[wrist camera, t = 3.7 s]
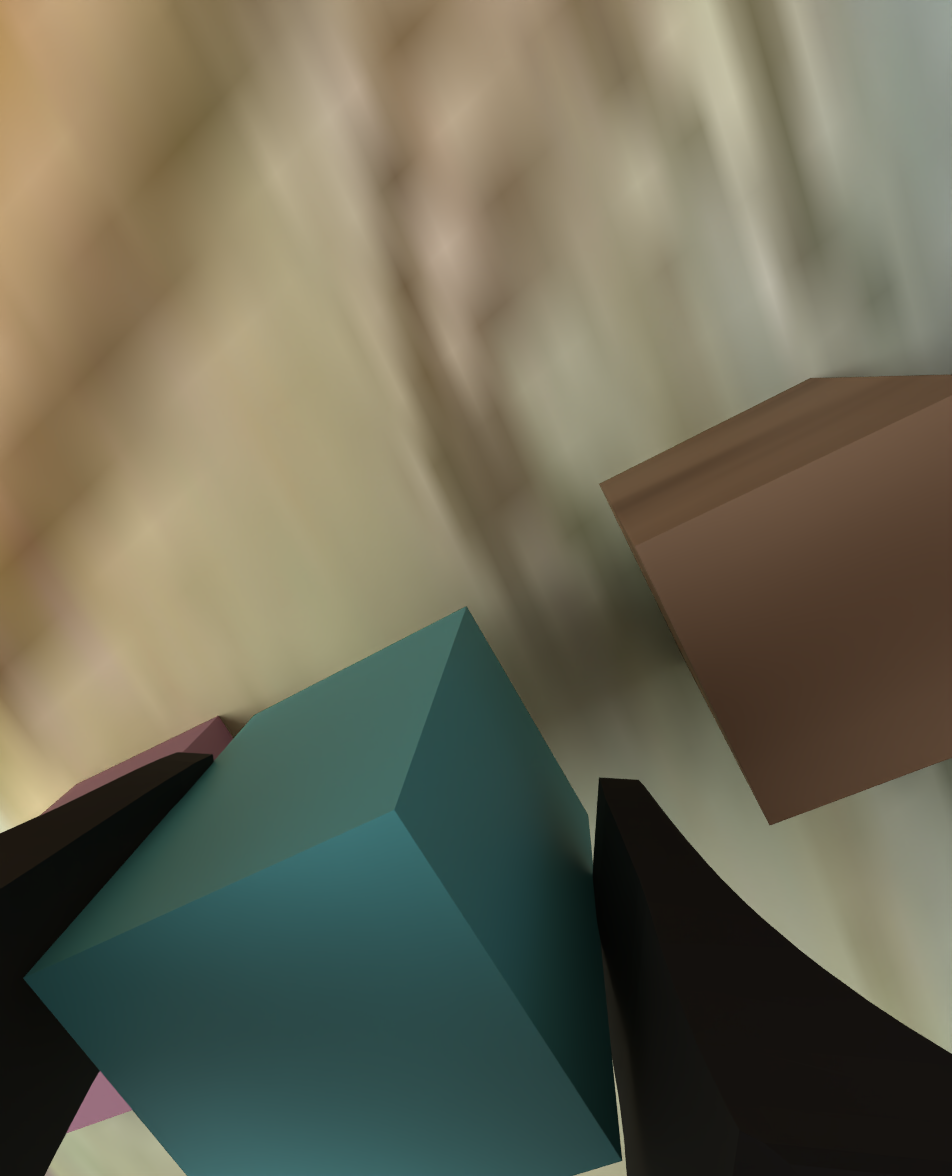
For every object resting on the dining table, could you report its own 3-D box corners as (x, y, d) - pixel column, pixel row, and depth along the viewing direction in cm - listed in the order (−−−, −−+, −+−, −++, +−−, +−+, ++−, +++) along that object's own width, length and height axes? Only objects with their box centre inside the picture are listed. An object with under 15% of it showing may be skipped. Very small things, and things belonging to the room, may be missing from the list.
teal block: (587, 815, 13) (622, 1161, 7) (380, 902, 14) (264, 1268, 8) (465, 606, 12) (393, 809, 6) (253, 715, 13) (22, 977, 7)
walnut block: (889, 576, 15) (1110, 698, 9) (686, 664, 16) (769, 825, 10) (809, 378, 14) (998, 372, 8) (599, 484, 15) (635, 546, 9)
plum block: (314, 861, 18) (207, 1083, 12) (173, 919, 19) (14, 1151, 13) (218, 715, 17) (55, 881, 11) (76, 784, 18) (-141, 970, 12)
